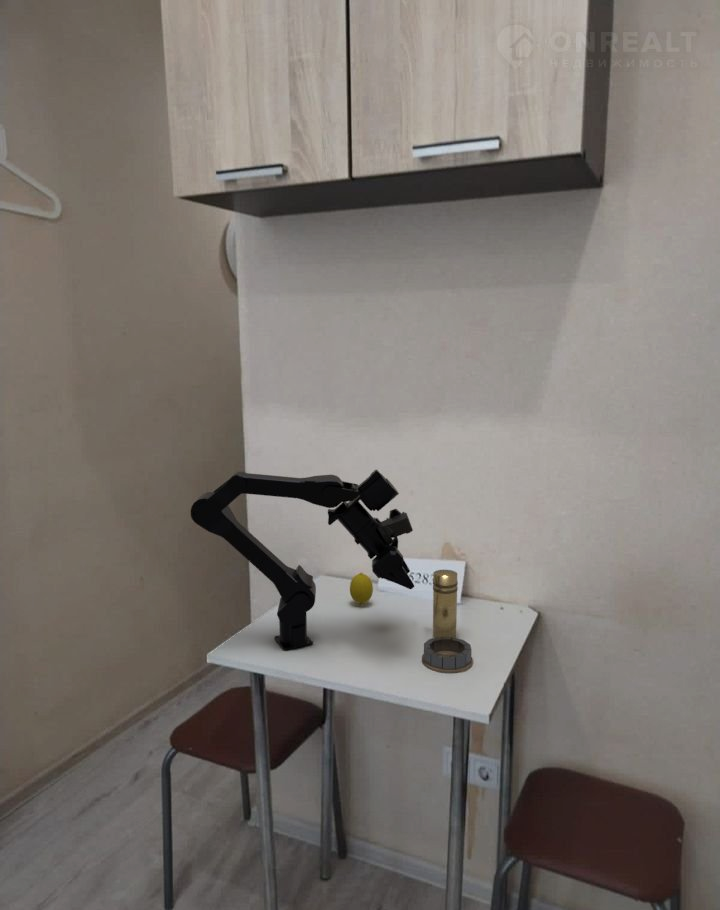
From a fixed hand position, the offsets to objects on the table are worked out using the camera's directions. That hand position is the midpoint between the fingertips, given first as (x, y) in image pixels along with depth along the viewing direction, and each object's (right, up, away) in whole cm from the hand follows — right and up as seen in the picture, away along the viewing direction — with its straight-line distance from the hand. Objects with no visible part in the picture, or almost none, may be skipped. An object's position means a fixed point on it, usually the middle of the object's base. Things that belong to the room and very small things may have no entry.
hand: (410, 579), depth 140 cm
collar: (+7, -15, -8) cm, 18 cm away
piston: (+8, -13, +4) cm, 15 cm away
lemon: (-10, -10, +22) cm, 26 cm away
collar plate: (+7, -15, -8) cm, 18 cm away
